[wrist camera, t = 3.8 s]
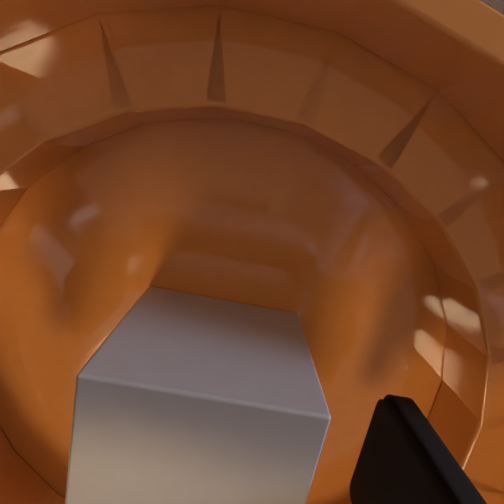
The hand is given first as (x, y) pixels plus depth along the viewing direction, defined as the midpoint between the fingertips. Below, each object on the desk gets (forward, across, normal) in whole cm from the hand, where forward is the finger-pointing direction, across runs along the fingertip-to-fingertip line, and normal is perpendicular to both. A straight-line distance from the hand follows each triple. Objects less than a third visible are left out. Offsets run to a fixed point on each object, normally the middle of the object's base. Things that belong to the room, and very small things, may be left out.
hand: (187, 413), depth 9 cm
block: (+2, 0, 0) cm, 2 cm away
